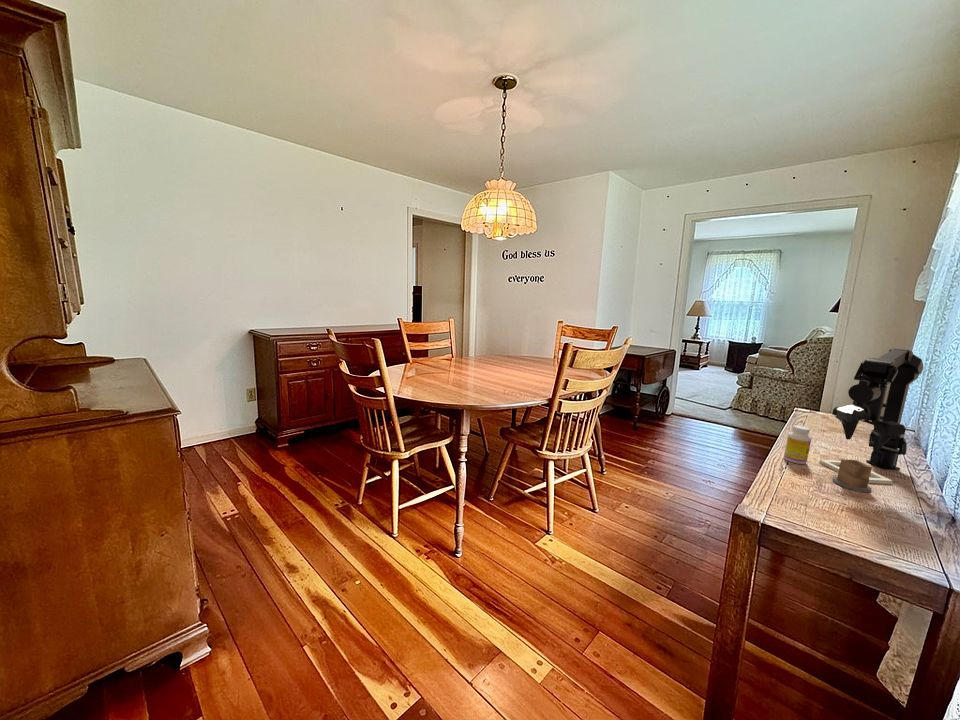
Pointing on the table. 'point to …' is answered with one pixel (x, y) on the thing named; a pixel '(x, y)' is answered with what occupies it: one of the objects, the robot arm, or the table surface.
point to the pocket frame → (876, 477)
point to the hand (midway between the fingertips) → (861, 444)
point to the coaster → (851, 487)
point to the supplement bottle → (798, 445)
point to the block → (854, 473)
